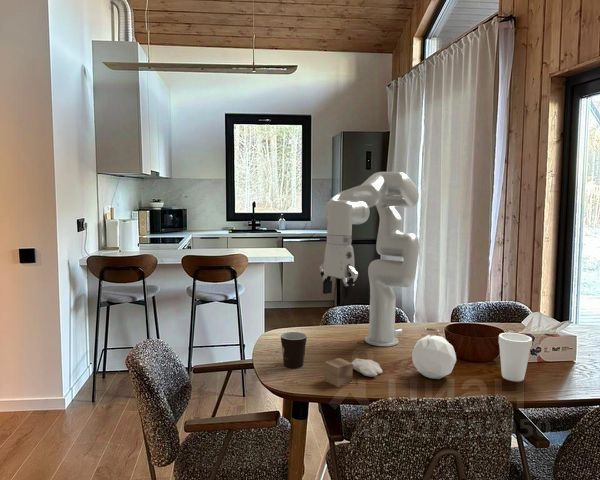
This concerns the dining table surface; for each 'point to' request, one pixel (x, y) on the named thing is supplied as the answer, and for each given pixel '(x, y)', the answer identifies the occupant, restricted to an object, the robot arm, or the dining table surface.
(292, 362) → the coffee mug
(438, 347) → the geodesic sphere
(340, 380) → the walnut block
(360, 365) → the decorative stone
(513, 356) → the foam cup
